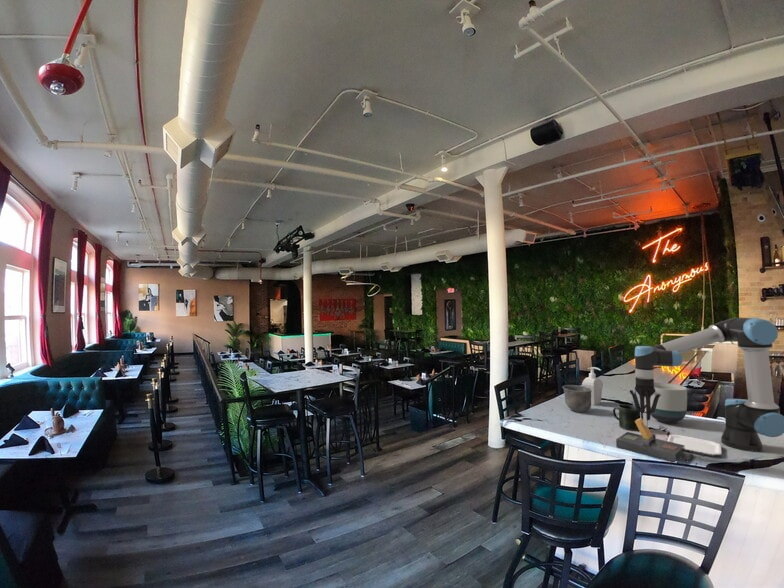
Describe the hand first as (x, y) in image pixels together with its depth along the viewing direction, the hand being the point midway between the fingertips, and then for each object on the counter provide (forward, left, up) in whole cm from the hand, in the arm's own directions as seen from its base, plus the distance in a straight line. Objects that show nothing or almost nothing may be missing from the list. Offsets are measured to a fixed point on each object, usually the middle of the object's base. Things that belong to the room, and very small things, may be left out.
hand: (645, 426), depth 180 cm
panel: (-1, 0, -12) cm, 12 cm away
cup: (+51, -41, -12) cm, 67 cm away
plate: (-14, -21, -12) cm, 29 cm away
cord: (-16, -2, -12) cm, 20 cm away
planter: (+6, -58, -12) cm, 60 cm away
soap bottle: (+50, -66, -12) cm, 84 cm away
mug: (+18, -29, -12) cm, 36 cm away
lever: (-1, 0, -7) cm, 7 cm away
